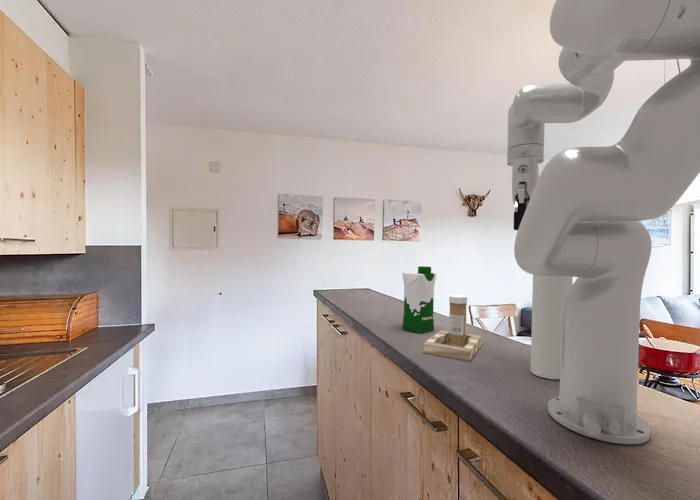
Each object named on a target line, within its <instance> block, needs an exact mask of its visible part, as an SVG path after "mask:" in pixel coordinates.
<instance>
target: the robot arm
mask: <svg viewBox="0 0 700 500" xmlns="http://www.w3.org/2000/svg"><path fill="white" fill-rule="evenodd" d="M549 33H550V36H551V38H552V39H553V42H555V43H556V44H557V45H558V46H560V47H562V49H561V51H559V52H560V53H559V55H558V69H559V71H560V74H561V75H562V77H564V79H565V80H566V81H567V82H568V83H545V84H544V83H541V84H539V83H536V84H535V83H534V84H527V85H524V86H522V87H521V88H520V89H519V90H518V92H517V93H516V94H515V96H514V98H513V102H512V104H511V105H510V107H509V108H508V112H507V147H506V148H507V151H506V165H507V166H510V167H512V168H511V171H512V172H511V195H512V197H511V198H512V204H514V212H513V231H517V232H516V236H515V240H514V247H513V248H514V249H513V252H514V254H513V255H514V258H515V262H516V263H517V266H518V267H519V268H520V269H521V270H522V271H524V272H526V273H528V274H530V275H532V276H533V275H538V276H561V277H574V278H576V279H575V280H574V282H572V286H571V287H570V289H569V290H568V292H567V294H566V295H565V298H564V300H563V304H562V316H561V355H560V379H559V396H556V397H553V398H551V399H550V400H548V403H547V411H548V414H549V415H550V416H551V418H552V419H553V420H555V421H556V422H557V423H558V424H560V425H561V426H563V427H564V428H567V429H568V430H571V431H572V432H575V433H577V434H580V435H582V436H584V437H588V438H591V439H594V440H598V441H602V442H606V443H611V444H619V445H641V444H644V443H646V442H648V441H649V440H650V439H651V433H652V432H651V431H652V429H651V426H650V425H649V423H648V422H647V421H645V419H643V418H642V417H640V416H639V415H638V385H639V384H638V383H639V381H638V380H639V348H640V347H639V346H640V345H639V344H640V324H641V321H640V320H641V319H640V316H641V304H642V303H641V300H642V291H643V284H644V280H645V276H646V273H647V269H648V265H649V262H650V259H651V254H652V247H653V246H652V237H651V234H650V232H649V230H648V229H647V227H646V226H644V224H643V223H641V222H640V221H649V220H654V219H657V218H659V217H662V216H664V215H665V214H667V212H669V211H670V210H671V209H672V208H673V207H674V205H675V204H676V203H677V202H678V201H679V200H680V199H681V197H682V196H683V195H684V194H685V192H686V191H687V190H688V188H689V187H690V186H691V185H692V183H693V182H694V181H695V179H696V178H697V177H698V175H699V174H700V0H555V2H554V3H553V6H552V10H551V13H550V19H549ZM667 60H689V61H690V64H689V66H688V67H686V68H685V69H684V70H682V71H680V73H678V74H677V75H675V76H673V77H672V78H671V79H669V80H668V81H667V82H665V83H664V84H663V85H662V86H661V87H659V88H658V89H657V90H656V91H655V92H654V93H652V95H651V96H650V97H649V98H648V99H647V100H645V101H644V103H643V104H642V105H641V106H640V107H639V109H638V110H637V112H636V114H635V115H634V117H633V119H632V121H631V123H630V125H629V127H628V129H627V130H626V132H625V133H624V135H623V136H622V138H620V140H619V141H618V142H617V143H614V144H613V145H610V146H608V145H607V146H578V147H570V148H567V149H564V150H562V151H560V152H558V153H557V154H555V155H554V156H552V158H550V160H549V161H548V162H547V163H546V164H545V165H544V167H543V169H542V170H541V172H540V167H539V165H540V164H541V163H543V162H544V160H545V125H546V124H572V123H575V122H579V121H581V120H583V119H585V118H586V117H587V116H589V115H591V114H592V113H593V112H594V111H596V110H597V109H599V108H600V107H601V106H602V105H603V104H604V102H605V101H606V99H607V97H608V96H609V94H610V92H611V90H612V87H613V85H614V79H615V70H616V69H617V68H618V67H619V66H621V65H622V64H623V63H624V62H627V61H628V62H630V61H631V62H632V61H667ZM539 172H540V174H539Z"/></svg>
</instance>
